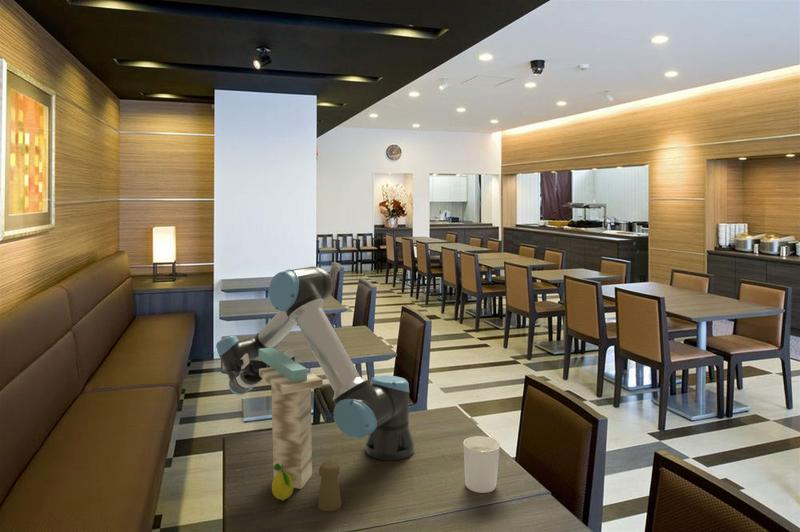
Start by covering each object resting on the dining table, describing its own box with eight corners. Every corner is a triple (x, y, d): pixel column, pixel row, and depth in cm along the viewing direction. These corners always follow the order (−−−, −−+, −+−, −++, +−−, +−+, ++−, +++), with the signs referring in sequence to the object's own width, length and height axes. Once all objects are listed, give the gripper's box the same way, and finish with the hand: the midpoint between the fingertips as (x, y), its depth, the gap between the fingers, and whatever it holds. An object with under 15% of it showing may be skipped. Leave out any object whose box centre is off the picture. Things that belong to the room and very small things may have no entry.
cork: (343, 499, 147) (343, 458, 146) (338, 511, 141) (338, 470, 140) (320, 497, 148) (320, 457, 146) (315, 510, 142) (314, 468, 140)
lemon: (274, 493, 150) (273, 457, 149) (296, 493, 150) (295, 457, 148) (267, 506, 143) (266, 469, 142) (290, 507, 143) (289, 469, 142)
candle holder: (501, 480, 157) (502, 438, 156) (495, 497, 148) (496, 453, 147) (466, 474, 160) (467, 433, 159) (458, 491, 151) (459, 448, 150)
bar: (258, 358, 169) (258, 348, 168) (271, 356, 171) (271, 346, 171) (292, 382, 147) (292, 371, 147) (307, 379, 149) (306, 368, 149)
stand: (298, 460, 168) (296, 362, 165) (324, 486, 153) (323, 379, 150) (261, 470, 162) (258, 369, 159) (284, 498, 147) (282, 387, 144)
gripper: (290, 378, 188) (312, 360, 171) (213, 392, 174) (229, 374, 158) (285, 356, 190) (307, 336, 173) (209, 368, 176) (225, 348, 160)
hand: (270, 354), depth 165 cm, fingers open, 13 cm apart
